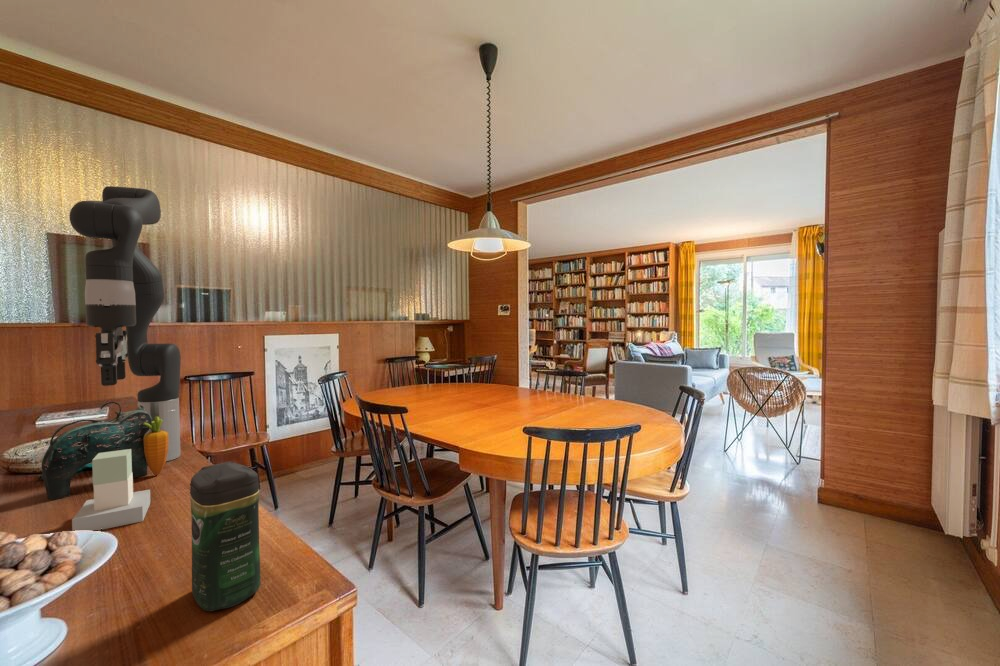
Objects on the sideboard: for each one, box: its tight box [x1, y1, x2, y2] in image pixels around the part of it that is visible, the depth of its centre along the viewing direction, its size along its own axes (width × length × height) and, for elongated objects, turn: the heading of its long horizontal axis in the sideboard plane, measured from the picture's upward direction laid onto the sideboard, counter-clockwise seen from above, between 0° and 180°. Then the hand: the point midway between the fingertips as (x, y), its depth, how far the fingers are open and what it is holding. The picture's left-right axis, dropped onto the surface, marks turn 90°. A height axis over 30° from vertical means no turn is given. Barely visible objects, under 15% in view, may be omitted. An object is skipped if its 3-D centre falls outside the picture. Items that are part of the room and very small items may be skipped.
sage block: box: [91, 449, 132, 486], centre depth 84 cm, size 5×5×5 cm
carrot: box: [143, 417, 169, 476], centre depth 107 cm, size 5×5×15 cm
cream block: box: [93, 472, 134, 511], centre depth 84 cm, size 5×5×5 cm
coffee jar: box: [189, 461, 261, 612], centre depth 61 cm, size 10×8×19 cm
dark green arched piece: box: [41, 401, 152, 501], centre depth 101 cm, size 20×6×20 cm, turn 152°
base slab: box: [71, 489, 151, 531], centre depth 84 cm, size 10×10×3 cm
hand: (114, 382), depth 86 cm, fingers open, 8 cm apart
